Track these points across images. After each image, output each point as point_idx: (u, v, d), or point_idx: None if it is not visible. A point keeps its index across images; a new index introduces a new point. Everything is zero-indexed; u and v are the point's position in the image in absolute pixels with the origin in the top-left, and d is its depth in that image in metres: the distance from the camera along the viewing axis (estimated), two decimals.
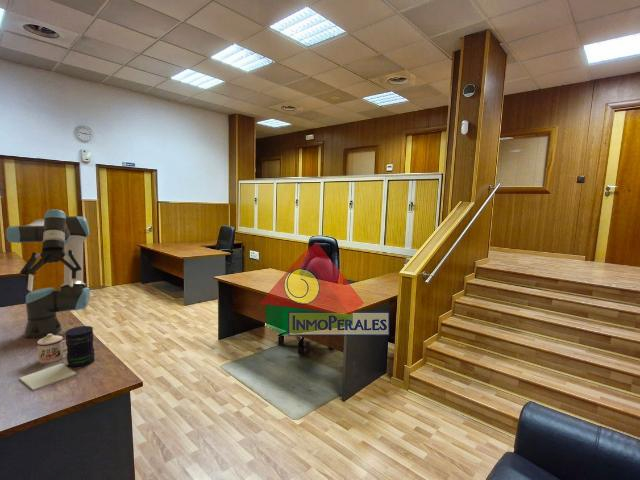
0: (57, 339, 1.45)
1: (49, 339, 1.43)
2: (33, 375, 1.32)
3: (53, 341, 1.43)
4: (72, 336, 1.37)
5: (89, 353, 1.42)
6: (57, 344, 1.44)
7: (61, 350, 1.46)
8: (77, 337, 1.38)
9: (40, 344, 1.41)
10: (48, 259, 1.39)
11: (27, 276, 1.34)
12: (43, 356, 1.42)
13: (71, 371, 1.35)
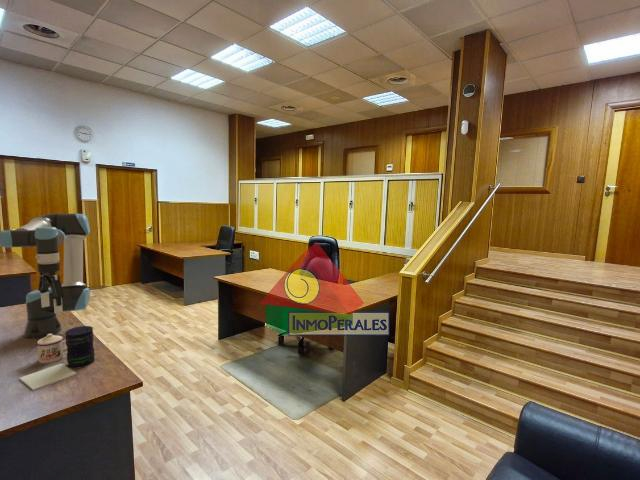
0: (57, 339, 1.45)
1: (49, 339, 1.43)
2: (33, 375, 1.32)
3: (53, 341, 1.43)
4: (72, 336, 1.37)
5: (89, 353, 1.42)
6: (57, 344, 1.44)
7: (61, 350, 1.46)
8: (77, 337, 1.38)
9: (40, 344, 1.41)
10: (45, 281, 1.43)
11: None
12: (43, 356, 1.42)
13: (71, 371, 1.35)
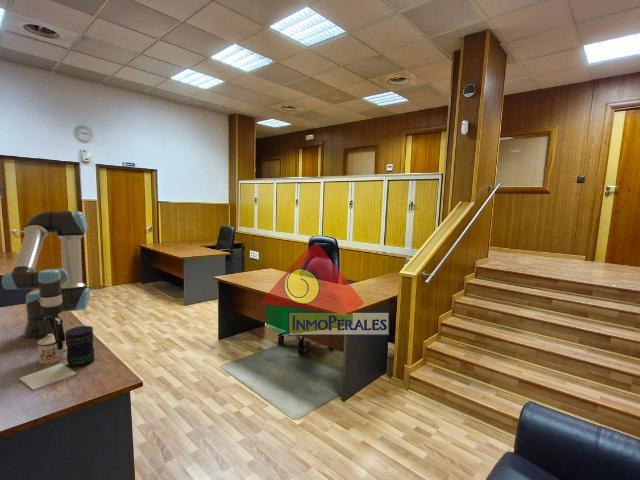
0: None
1: (49, 339, 1.43)
2: (33, 375, 1.32)
3: (53, 341, 1.43)
4: (72, 336, 1.37)
5: (89, 353, 1.42)
6: None
7: None
8: (77, 337, 1.38)
9: (40, 344, 1.41)
10: (48, 323, 1.45)
11: None
12: (44, 357, 1.42)
13: (71, 371, 1.35)
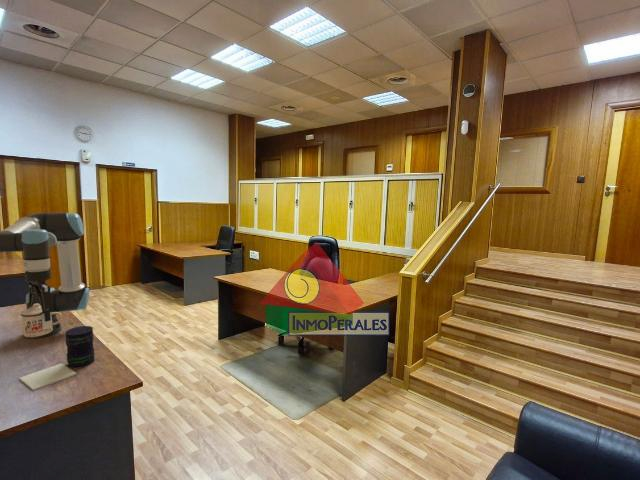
0: None
1: (35, 309, 1.24)
2: (33, 375, 1.32)
3: (40, 311, 1.24)
4: (72, 336, 1.37)
5: (89, 353, 1.42)
6: None
7: None
8: (77, 337, 1.38)
9: (25, 314, 1.22)
10: (34, 291, 1.26)
11: None
12: (29, 329, 1.23)
13: (71, 371, 1.35)
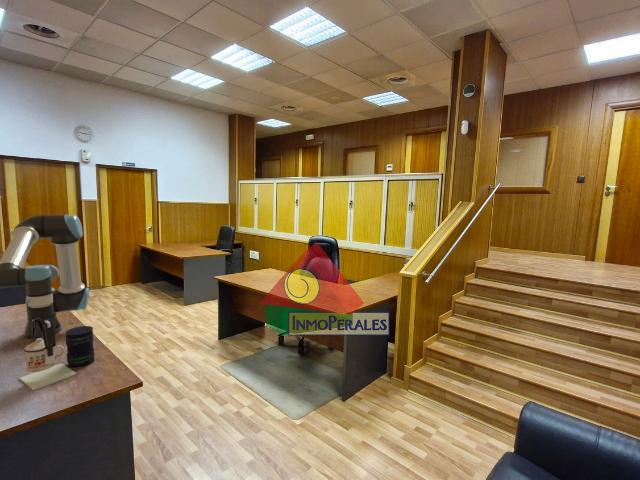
0: None
1: (38, 344, 1.26)
2: (33, 375, 1.32)
3: (43, 347, 1.26)
4: (72, 336, 1.37)
5: (89, 353, 1.42)
6: None
7: None
8: (77, 337, 1.38)
9: (28, 350, 1.23)
10: (37, 326, 1.28)
11: None
12: (32, 364, 1.24)
13: (71, 371, 1.35)
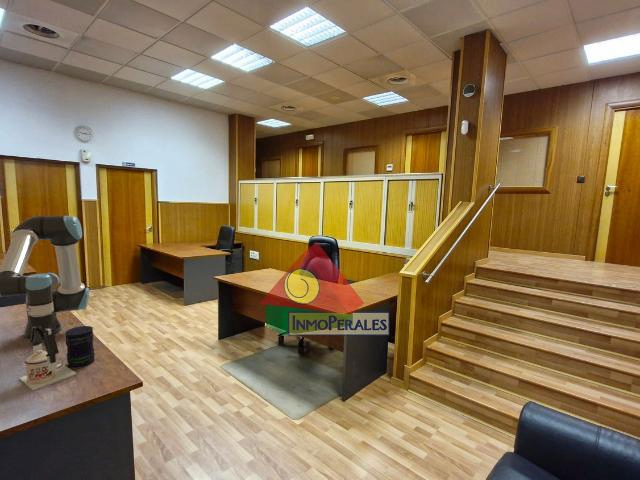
0: None
1: (39, 356, 1.27)
2: None
3: (43, 358, 1.27)
4: (72, 336, 1.37)
5: (89, 353, 1.42)
6: None
7: None
8: (77, 337, 1.38)
9: (29, 362, 1.24)
10: (38, 334, 1.28)
11: None
12: (33, 376, 1.25)
13: (71, 371, 1.35)
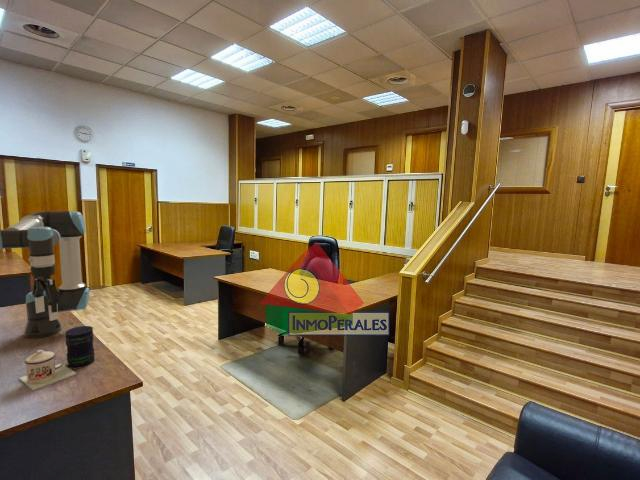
0: (48, 356, 1.28)
1: (39, 356, 1.27)
2: None
3: (43, 359, 1.26)
4: (72, 336, 1.37)
5: (89, 353, 1.42)
6: (48, 362, 1.28)
7: (53, 368, 1.30)
8: (77, 337, 1.38)
9: (29, 362, 1.24)
10: (40, 286, 1.32)
11: None
12: (33, 376, 1.25)
13: (71, 371, 1.35)
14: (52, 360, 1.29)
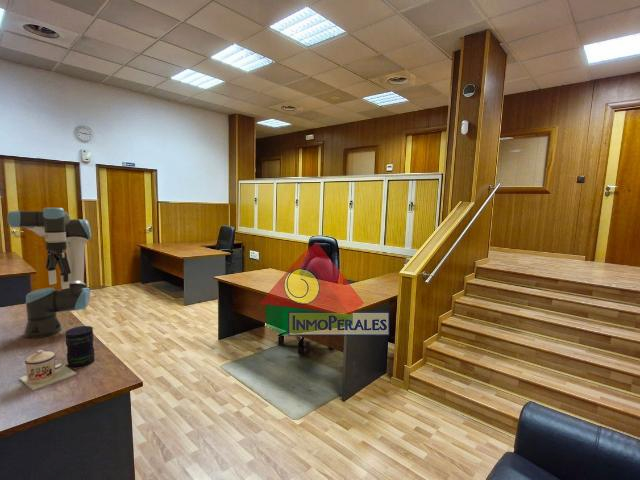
0: (48, 356, 1.28)
1: (39, 356, 1.27)
2: None
3: (44, 359, 1.27)
4: (72, 336, 1.37)
5: (89, 353, 1.42)
6: (48, 362, 1.28)
7: (53, 368, 1.30)
8: (77, 337, 1.38)
9: (29, 362, 1.24)
10: (53, 259, 1.51)
11: None
12: (33, 376, 1.25)
13: (71, 371, 1.35)
14: (52, 360, 1.29)
